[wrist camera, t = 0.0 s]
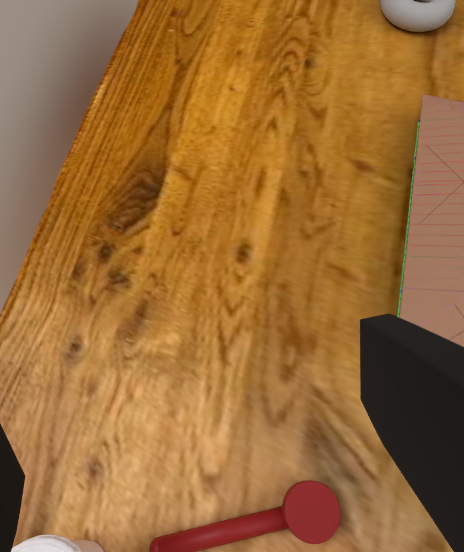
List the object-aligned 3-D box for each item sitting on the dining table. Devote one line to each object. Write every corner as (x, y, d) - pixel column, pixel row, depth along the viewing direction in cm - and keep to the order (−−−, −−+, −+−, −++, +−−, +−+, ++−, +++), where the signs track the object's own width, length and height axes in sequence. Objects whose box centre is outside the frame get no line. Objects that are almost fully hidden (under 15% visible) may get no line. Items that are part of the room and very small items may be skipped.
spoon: (326, 475, 38) (330, 475, 36) (342, 533, 36) (348, 536, 34) (147, 518, 36) (143, 521, 34) (155, 581, 34) (151, 587, 33)
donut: (457, 6, 63) (392, -20, 64) (470, -19, 59) (401, -45, 61) (433, 48, 59) (364, 20, 61) (445, 24, 56) (373, -5, 58)
